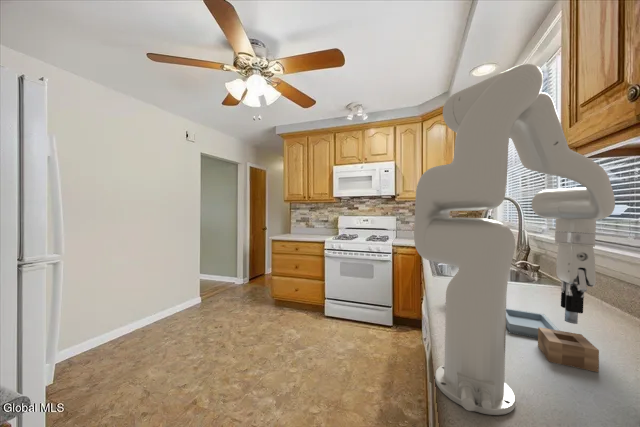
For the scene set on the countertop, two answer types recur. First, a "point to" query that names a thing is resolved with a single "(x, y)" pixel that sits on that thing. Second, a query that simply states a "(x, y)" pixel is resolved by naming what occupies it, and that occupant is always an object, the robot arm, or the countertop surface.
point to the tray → (527, 322)
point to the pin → (570, 316)
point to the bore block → (568, 349)
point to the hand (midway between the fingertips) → (571, 309)
